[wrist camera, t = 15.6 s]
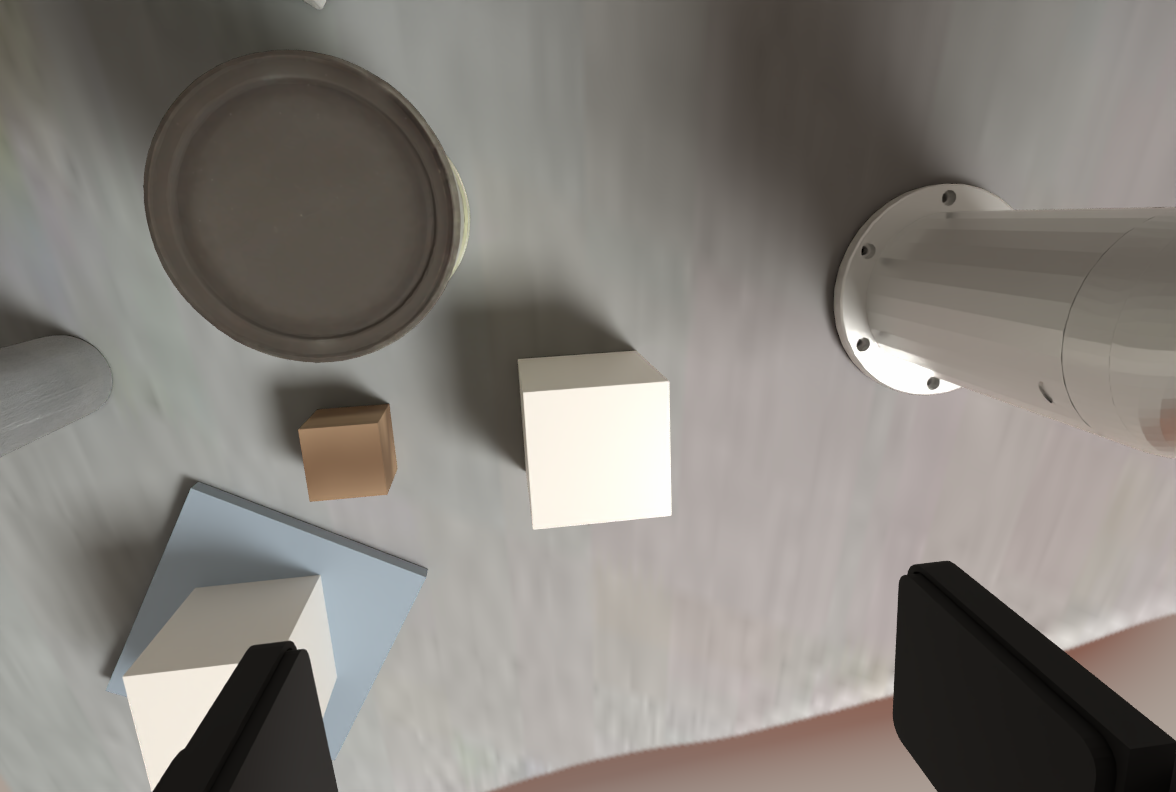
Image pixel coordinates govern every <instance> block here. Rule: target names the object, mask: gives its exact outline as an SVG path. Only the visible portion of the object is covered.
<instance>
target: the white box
mask: <svg viewBox="0 0 1176 792" xmlns="http://www.w3.org/2000/svg"><path fill="white" fill-rule="evenodd" d="M282 641H292V642H294V644H295V646H296V648H297V650H298V649H306V650H307V652H308V654H309V657H310V661H311V666H312V671H313V675H314V680H315V685H316V689H317V694H318V699H319V704H320V708H321V713H322V718H323V716H324V714H325V711H326V708H327V705H328V702H329V699H330V696H331V693H332V690H333V688H334V685H335V682H336V679H337V673H336V667H335V661H334V655H333V649H332V643H331V636H330V630H329V624H328V618H327V612H326V606H325V600H324V593H323V587H322V581H321V575H314V576H305V577H295V578H285V579H276V580H266V581H257V582H247V583H237V584H228V585H218V586H209V587H199V588H195V589H194V590H193V591H192V592H191V593H190V595H189V596H188V597H187V598H186V600H185V601H184V602H183V603H182V604H181V606H180V607H179V608H178V609H177V611H176V612H175V613H174V614H173V615H172V617H171V618H170V619H169V620H168V622H167V623H166V624H165V625H164V627H163V628H162V629H161V630H160V631H159V633H158V634H157V635H156V636H155V638H154V639H153V640H152V641H151V642H150V644H149V645H148V646H147V647H146V649H145V650H144V651H143V652H142V653H141V655H140V656H139V657H138V658H137V660H136V661H135V662H134V663H133V665H132V666H131V667H130V668H129V669H128V671H127V672H126V673H125V674H124V676H123V681H124V685H125V689H126V693H127V697H128V701H129V705H130V709H131V713H132V716H133V720H134V724H135V728H136V732H137V736H138V740H139V744H140V748H141V752H142V756H143V759H144V763H145V767H146V771H147V775H148V779H149V783H150V787H151V791H153V790H154V788H155V787H156V785H157V784H158V782H159V780H160V779H161V777H162V776H163V774H164V773H165V771H166V770H167V768H168V766H169V765H170V763H171V762H172V760H173V759H174V758H175V757H176V755H177V754H178V753H179V752H180V751H181V750H183V749H185V747H186V746H187V744H188V742H189V741H190V739H191V738H192V736H193V735H194V733H195V731H196V730H197V728H198V727H199V725H200V723H201V722H202V720H203V719H204V717H205V716H206V714H207V712H208V711H209V709H210V708H211V706H212V705H213V703H214V701H215V700H216V698H217V697H218V695H219V693H220V692H221V690H222V689H223V687H224V686H225V684H226V682H227V681H228V679H229V678H230V676H231V674H232V673H233V671H234V670H235V668H236V667H237V665H238V663H239V662H240V660H241V659H242V657H243V656H244V654H245V652H246V651H247V650H248V648H249V647H250V646H252V645H257V644H266V643H274V642H282Z"/></svg>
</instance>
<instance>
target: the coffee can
mask: <svg viewBox="0 0 1176 792" xmlns="http://www.w3.org/2000/svg"><path fill="white" fill-rule="evenodd" d="M143 187H144V205H145V211H146V218H147V223H148V227H149V231H150V234H151V238H152V241H153V243H154V248H155V250H156V252H157V254H158V257H159V259H160V261H161V264H162V266H163V268H164V270H165V271H166V273H167V275H168V276H169V278H170V279H171V281H172V282H173V284H174V286H175V287H176V288H177V290H178V291H179V292H180V293H181V295H182V296H183V297H184V298H185V300H186V301H187V302H189V303H190V305H191V306H192V307H193V308H194V309H195V310H196V311H197V312H198V313H199V314H201V315H202V316H203V317H204V318H205V319H206V320H207V321H209V322H210V323H211V324H212V325H213V326H215V327H216V328H217V329H218V330H220V331H222V332H223V333H225V334H226V335H228V336H229V337H231V338H232V339H234V340H235V341H237V342H239V343H241V344H243V345H245V346H248V347H250V348H252V349H255V350H257V351H260V352H263V353H265V354H268V355H272V356H275V357H279V358H283V359H289V360H295V361H303V362H315V363H320V362H334V361H343V360H348V359H352V358H357V357H360V356H363V355H366V354H369V353H372V352H375V351H378V350H380V349H382V348H384V347H386V346H388V345H390V344H391V343H393V342H395V341H397V340H398V339H400V338H401V337H403V336H404V335H405V334H406V333H408V332H409V331H410V330H412V329H413V328H414V327H415V326H416V325H417V324H418V323H419V322H420V321H421V320H422V319H423V318H424V317H425V316H426V315H427V314H428V312H429V311H430V310H431V309H432V308H433V306H434V305H435V303H436V302H437V301H438V299H439V298H440V296H441V295H442V293H443V291H444V290H445V288H446V286H447V283H448V281H449V279H450V278H451V277H452V275H453V274H454V272H455V271H456V269H457V267H458V266H459V264H460V262H461V260H462V258H463V255H464V252H465V250H466V246H467V243H468V237H469V231H470V209H469V203H468V198H467V194H466V191H465V188H464V185H463V183H462V180H461V178H460V175H459V174H458V172H457V170H456V168H455V167H454V165H453V164H452V162H451V160H450V159H449V158H448V157H447V155H446V154H445V151H444V149H443V147H442V146H441V144H440V142H439V140H438V138H437V137H436V135H435V133H434V132H433V130H432V129H431V128H430V126H429V125H428V124H427V122H426V121H425V119H424V118H423V117H422V115H421V114H420V113H419V112H418V111H417V109H416V108H415V107H414V106H413V105H412V104H411V103H410V102H409V101H408V100H407V99H406V98H405V97H404V96H403V95H402V94H401V93H400V92H398V91H397V90H396V89H395V88H393V87H392V86H391V85H390V84H388V83H387V82H385V81H384V80H382V79H380V78H379V77H377V76H375V75H374V74H372V73H370V72H369V71H367V70H365V69H363V68H361V67H359V66H357V65H355V64H353V63H350V62H348V61H346V60H343V59H340V58H336V57H333V56H330V55H325V54H321V53H316V52H310V51H302V50H271V51H266V52H258V53H253V54H249V55H245V56H241V57H238V58H235V59H232V60H230V61H228V62H225V63H223V64H221V65H218V66H216V67H215V68H213V69H211V70H210V71H208V72H206V73H205V74H203V75H202V76H200V77H199V78H197V79H196V80H195V81H194V82H193V83H192V84H191V85H190V86H188V87H187V88H186V89H185V90H184V91H183V92H182V93H181V94H180V95H179V97H178V98H177V99H176V100H175V101H174V103H173V104H172V105H171V107H170V108H169V109H168V111H167V113H166V114H165V116H164V117H163V119H162V121H161V123H160V125H159V127H158V129H157V131H156V133H155V135H154V137H153V140H152V143H151V146H150V149H149V151H148V156H147V161H146V165H145V172H144V185H143Z"/></svg>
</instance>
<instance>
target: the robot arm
mask: <svg viewBox="0 0 1176 792" xmlns="http://www.w3.org/2000/svg"><path fill="white" fill-rule="evenodd" d="M942 197H943V199H942ZM862 247H863V248H864V251H863V253H862V254H861V250H862ZM834 315H835V322H836V328H837V331H838V334H839V337H840V340H841V343H842V345H843V347H844V349H845V350H846V352H847V354H848V355H849V357H850V359H851V360H852V362H853V363H854V364H855V365H856V366H857V367H858V368H859V369H860V370H861V371H862V372H863V373H864V374H865V375H867V376H868V377H870V378H871V379H872V380H874V381H875V382H877V383H879V384H881V385H884V386H886V387H888V388H890V389H892V390H896V391H899V392H903V393H906V394H911V395H935V394H942V393H947V392H950V391H953V390H956V389H959V388H962V387H963V388H966V389H969V390H972V391H975V392H977V393H980V394H983V395H986V396H989V397H991V398H994V399H997V400H1000V401H1003V402H1005V403H1008V404H1011V405H1014V406H1017V407H1019V408H1022V409H1025V410H1028V411H1031V412H1033V413H1036V414H1039V415H1042V416H1045V417H1047V418H1050V419H1053V420H1056V421H1059V422H1061V423H1064V424H1067V425H1070V426H1073V427H1075V428H1078V429H1081V430H1084V431H1087V432H1089V433H1092V434H1095V435H1098V436H1101V437H1103V438H1106V439H1109V440H1112V441H1115V442H1117V443H1120V444H1123V445H1126V446H1129V447H1132V448H1135V449H1137V450H1140V451H1143V452H1147V453H1150V454H1154V455H1158V456H1162V457H1167V458H1174V459H1176V207H1146V208H1096V209H1045V210H1013V208H1012V207H1011V206H1009V205H1008V204H1007V203H1006V202H1004V201H1003V200H1002V199H1001V198H1000V197H998V196H997V195H994V194H992V193H990V192H988V191H986V190H984V189H982V188H979V187H974V186H970V185H966V184H939V185H930V186H925V187H921V188H918V189H915V190H912V191H908V192H906V193H904V194H902V195H900V196H899V197H897V198H895V199H893V200H891V201H889V202H888V203H887V204H885V205H884V206H883V207H882V208H880V209H879V210H878V211H877V212H875V213H874V214H873V215H872V216H871V217H870V218H869V219H868V220H867V222H866V223H865V224H864V225H863V226H862V227H861V228H860V229H859V231H858V232H857V234H856V235H855V237H854V239H853V240H852V242H851V243H850V245H849V247H848V248H847V250H846V253H845V255H844V258H843V260H842V262H841V265H840V267H839V271H838V275H837V280H836V284H835V290H834ZM858 340H859V343H858V344H857V341H858ZM856 344H857V345H856ZM893 721H894V726H895V729H896V732H897V734H898V737H899V738H900V740H901V742H902V743H903V745H904V746H905V747H906V749H907V750H908V751H909V753H910V754H911V756H912V757H913V758H914V760H915V761H916V763H917V764H918V765H919V767H920V768H921V769H922V771H923V772H924V773H925V775H926V776H927V777H928V779H929V780H930V782H931V783H932V785H933V786H934V787H935V789H936V790H937V791H938V792H1176V741H1175V740H1174V739H1173V738H1172V737H1170V736H1169V735H1168V734H1167V733H1165V732H1164V731H1163V730H1162V729H1160V728H1159V727H1158V726H1157V725H1155V724H1154V723H1153V722H1152V721H1150V720H1149V719H1148V718H1147V717H1145V716H1144V715H1143V714H1142V713H1140V712H1139V711H1138V710H1137V709H1135V708H1134V707H1133V706H1132V705H1130V704H1129V703H1128V702H1126V701H1125V700H1124V699H1123V698H1122V697H1120V696H1119V695H1118V694H1117V693H1115V692H1114V691H1113V690H1112V689H1110V688H1109V687H1108V686H1107V685H1105V684H1104V683H1103V682H1101V681H1100V680H1099V679H1098V678H1097V677H1095V676H1094V675H1093V674H1092V673H1090V672H1089V671H1088V670H1087V669H1085V668H1084V667H1083V666H1082V665H1080V664H1079V663H1078V662H1077V661H1075V660H1074V659H1073V658H1072V657H1070V656H1069V655H1068V654H1067V653H1065V652H1064V651H1063V650H1062V649H1060V648H1059V647H1058V646H1057V645H1055V644H1054V643H1053V642H1052V641H1050V640H1049V639H1048V638H1047V637H1045V636H1044V635H1043V634H1042V633H1040V632H1039V631H1038V630H1037V629H1035V628H1034V627H1033V626H1032V625H1030V624H1029V623H1028V622H1027V621H1025V620H1024V619H1023V618H1022V617H1020V616H1019V615H1018V614H1017V613H1015V612H1014V611H1013V610H1012V609H1010V608H1009V607H1008V606H1007V605H1005V604H1004V603H1003V602H1002V601H1000V600H999V599H998V598H997V597H995V596H994V595H993V594H992V593H990V592H989V591H988V590H987V589H985V588H984V587H983V586H982V585H980V584H979V583H978V582H977V581H975V580H974V579H973V578H972V577H970V576H969V575H968V574H967V573H965V572H964V571H963V570H962V569H960V568H959V567H958V566H957V565H955V564H954V563H952V562H950V561H940V562H932V563H924V564H916V565H913V566H911V567H910V568H909V570H908V574H907V575H903V576H902V577H901V578H900V580H899V590H898V612H897V633H896V655H895V676H894V698H893ZM152 792H338V789H337V784H336V779H335V774H334V770H333V765H332V760H331V756H330V751H329V746H328V741H327V737H326V732H325V727H324V722H323V718H322V713H321V708H320V704H319V699H318V694H317V689H316V685H315V680H314V675H313V671H312V666H311V661H310V657H309V654H308V652H307V650H306V649H298V650H297V648H296V646H295V644H294V642H292V641H282V642H274V643H266V644H257V645H252V646H250V647H249V648H248V650H247V651H246V652H245V654H244V656H243V657H242V659H241V660H240V662H239V663H238V665H237V667H236V668H235V670H234V671H233V673H232V674H231V676H230V678H229V679H228V681H227V682H226V684H225V686H224V687H223V689H222V690H221V692H220V693H219V695H218V697H217V698H216V700H215V701H214V703H213V705H212V706H211V708H210V709H209V711H208V712H207V714H206V716H205V717H204V719H203V720H202V722H201V723H200V725H199V727H198V728H197V730H196V731H195V733H194V735H193V736H192V738H191V739H190V741H189V742H188V744H187V746H186V747H185V749H183V750H181V751H180V752H179V753H178V754H177V755H176V757H175V758H174V759H173V760H172V762H171V763H170V765H169V766H168V768H167V770H166V771H165V773H164V774H163V776H162V777H161V779H160V780H159V782H158V784H157V785H156V787H155V788H154V790H153V791H152Z"/></svg>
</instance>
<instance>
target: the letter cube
mask: <svg viewBox="0 0 1176 792" xmlns="http://www.w3.org/2000/svg"><path fill="white" fill-rule="evenodd" d="M298 432H299V438H300V445H301V451H302V457H303V463H304V469H305V475H306V481H307V488H308V494H309V500H310V502H312V501H323V500H334V499H345V498H356V497H366V496H377V495H387V494H388V491H389V489H390V486H391V484H392V481H393V479H394V476H395V474H396V471H397V461H396V454H395V446H394V438H393V430H392V422H391V414H390V406H389V404H380V405H368V406H355V407H342V408H329V409H317V410H316V411H315V412H314V413H313V414H312V416H311V417H310V418H309V419H308V420H307V421H306V422H305V423H304V424H303V425H302V426H301V427H300V428H299V429H298Z"/></svg>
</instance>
